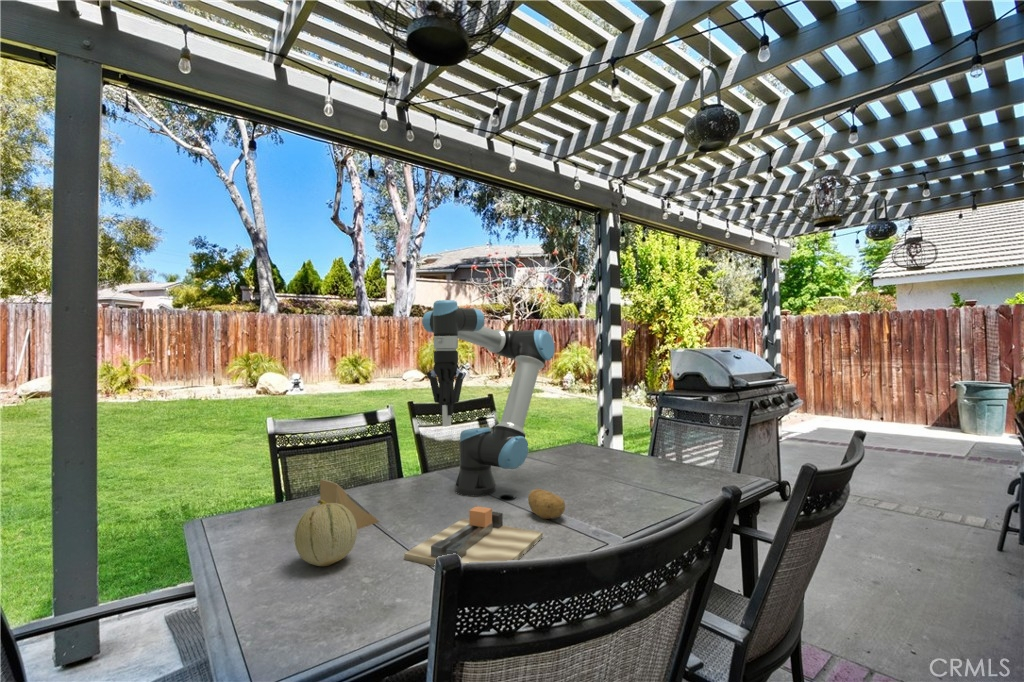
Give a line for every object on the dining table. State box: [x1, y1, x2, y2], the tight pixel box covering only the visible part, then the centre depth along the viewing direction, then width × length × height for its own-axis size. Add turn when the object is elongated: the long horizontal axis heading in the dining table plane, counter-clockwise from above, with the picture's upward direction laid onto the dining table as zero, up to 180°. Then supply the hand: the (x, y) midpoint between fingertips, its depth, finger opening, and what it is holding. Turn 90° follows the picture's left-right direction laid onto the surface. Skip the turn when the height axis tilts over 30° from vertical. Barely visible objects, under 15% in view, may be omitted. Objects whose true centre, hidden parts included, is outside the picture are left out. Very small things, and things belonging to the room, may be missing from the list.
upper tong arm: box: [446, 522, 493, 558], centre depth 130 cm, size 24×4×3 cm, turn 156°
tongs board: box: [403, 511, 544, 567], centre depth 130 cm, size 28×26×5 cm
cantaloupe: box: [293, 499, 358, 567], centre depth 121 cm, size 15×15×15 cm
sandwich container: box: [319, 478, 381, 530], centre depth 147 cm, size 9×15×15 cm, turn 142°
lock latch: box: [468, 505, 493, 528], centre depth 137 cm, size 4×5×4 cm
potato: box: [528, 488, 566, 520], centre depth 154 cm, size 10×14×8 cm
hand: (446, 425), depth 153 cm, fingers closed
